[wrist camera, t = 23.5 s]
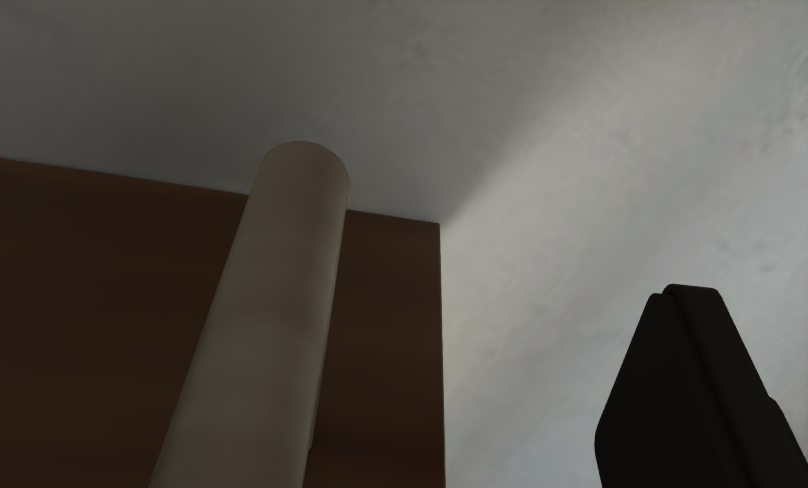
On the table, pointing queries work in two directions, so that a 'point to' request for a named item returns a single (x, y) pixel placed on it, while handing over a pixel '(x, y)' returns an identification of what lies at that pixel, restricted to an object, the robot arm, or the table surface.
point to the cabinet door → (216, 333)
